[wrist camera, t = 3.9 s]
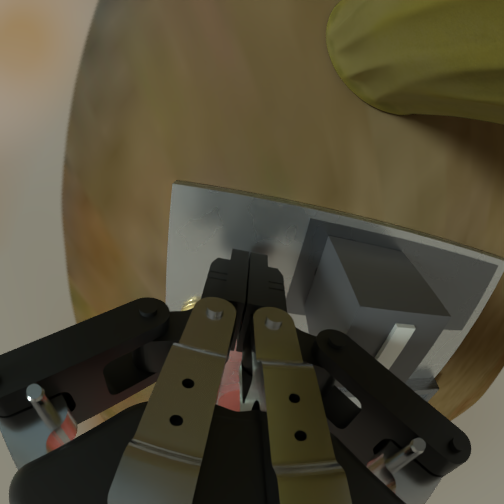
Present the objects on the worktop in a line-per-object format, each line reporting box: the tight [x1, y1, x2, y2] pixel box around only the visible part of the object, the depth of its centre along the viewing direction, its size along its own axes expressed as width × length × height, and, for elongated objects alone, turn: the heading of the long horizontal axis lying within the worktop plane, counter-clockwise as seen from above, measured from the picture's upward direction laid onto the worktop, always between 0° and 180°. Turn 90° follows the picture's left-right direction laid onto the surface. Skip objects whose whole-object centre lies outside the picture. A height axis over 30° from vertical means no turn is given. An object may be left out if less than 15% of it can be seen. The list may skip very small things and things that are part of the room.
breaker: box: [304, 236, 451, 387], centre depth 11 cm, size 4×4×5 cm
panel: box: [166, 180, 504, 408], centre depth 17 cm, size 20×20×2 cm
